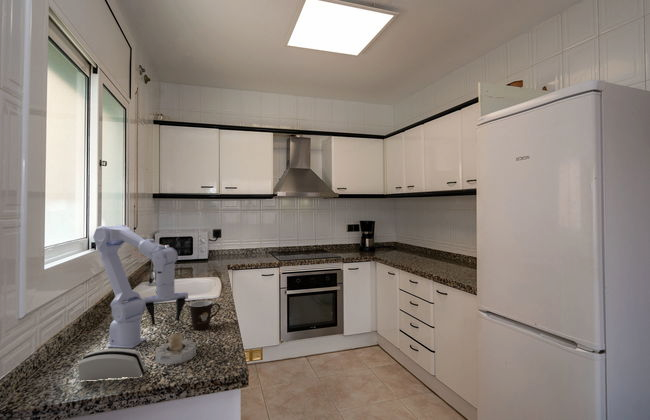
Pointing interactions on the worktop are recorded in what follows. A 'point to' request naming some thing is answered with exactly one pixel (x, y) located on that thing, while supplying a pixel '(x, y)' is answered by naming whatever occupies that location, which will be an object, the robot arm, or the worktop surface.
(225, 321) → the worktop surface
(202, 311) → the coffee mug
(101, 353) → the grey arched block
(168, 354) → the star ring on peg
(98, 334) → the worktop surface
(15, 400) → the worktop surface
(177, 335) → the tan cylinder
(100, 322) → the worktop surface
